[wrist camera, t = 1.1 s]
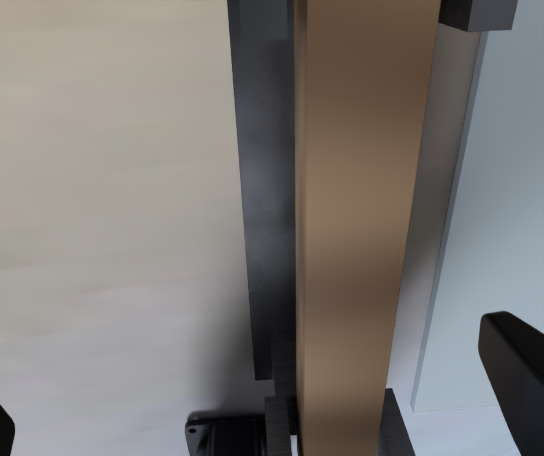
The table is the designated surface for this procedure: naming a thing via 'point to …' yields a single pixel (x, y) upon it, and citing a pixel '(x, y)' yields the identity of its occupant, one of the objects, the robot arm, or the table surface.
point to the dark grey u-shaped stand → (281, 195)
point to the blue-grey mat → (490, 217)
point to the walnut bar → (353, 205)
